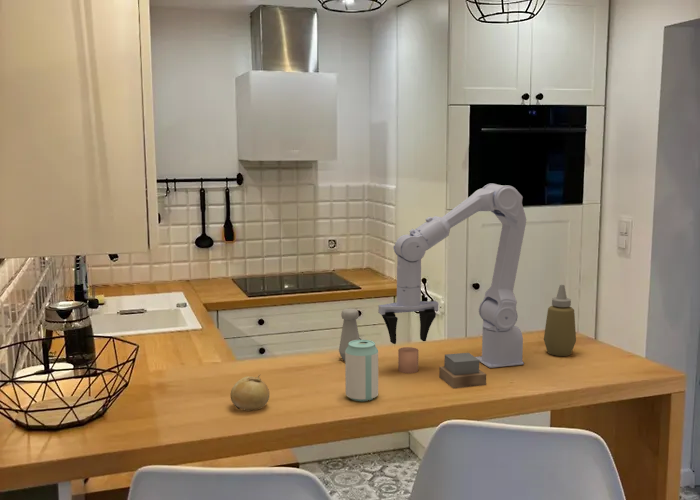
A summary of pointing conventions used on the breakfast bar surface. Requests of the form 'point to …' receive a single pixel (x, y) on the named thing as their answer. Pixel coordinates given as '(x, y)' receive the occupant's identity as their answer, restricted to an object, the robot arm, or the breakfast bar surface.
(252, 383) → the onion
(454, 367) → the charcoal block
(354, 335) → the salt shaker
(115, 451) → the breakfast bar surface
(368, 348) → the can
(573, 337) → the squeeze bottle
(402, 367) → the salmon cylinder
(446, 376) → the walnut slab
